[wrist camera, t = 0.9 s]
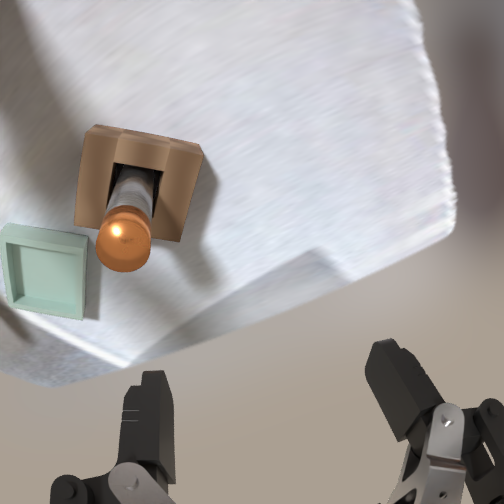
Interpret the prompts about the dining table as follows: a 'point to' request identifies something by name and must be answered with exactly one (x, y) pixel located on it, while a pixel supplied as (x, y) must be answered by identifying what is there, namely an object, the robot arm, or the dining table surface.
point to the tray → (44, 270)
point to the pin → (127, 221)
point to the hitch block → (143, 155)
